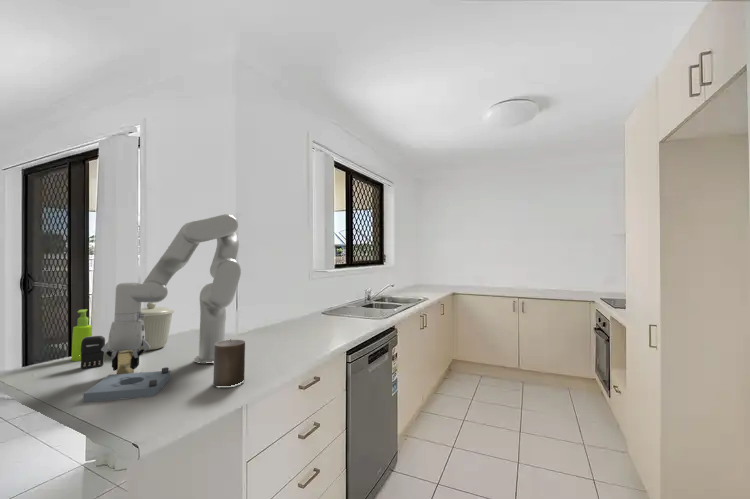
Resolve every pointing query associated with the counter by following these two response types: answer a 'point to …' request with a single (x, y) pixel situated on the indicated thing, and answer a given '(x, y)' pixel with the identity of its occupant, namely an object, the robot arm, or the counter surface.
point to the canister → (156, 325)
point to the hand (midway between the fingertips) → (125, 368)
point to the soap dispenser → (80, 334)
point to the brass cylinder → (124, 362)
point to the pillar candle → (229, 362)
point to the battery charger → (92, 351)
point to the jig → (128, 386)
